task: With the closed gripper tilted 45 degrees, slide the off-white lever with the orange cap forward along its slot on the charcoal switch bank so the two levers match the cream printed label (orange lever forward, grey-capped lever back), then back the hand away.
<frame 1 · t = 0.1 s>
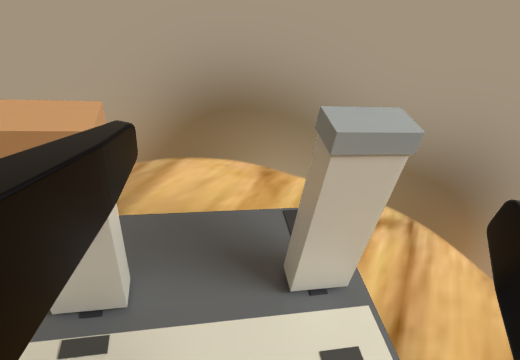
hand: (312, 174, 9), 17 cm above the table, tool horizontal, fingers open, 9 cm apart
lever b: (338, 212, 20), point 8 cm above the table, slide at 0.0 cm
switch bank: (194, 289, 24), on the table
lever a: (71, 225, 17), point 8 cm above the table, slide at 0.0 cm
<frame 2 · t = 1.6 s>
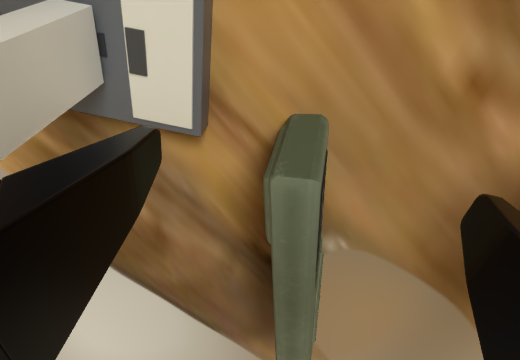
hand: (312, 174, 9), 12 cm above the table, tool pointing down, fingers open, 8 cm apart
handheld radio: (301, 251, 29), on the table
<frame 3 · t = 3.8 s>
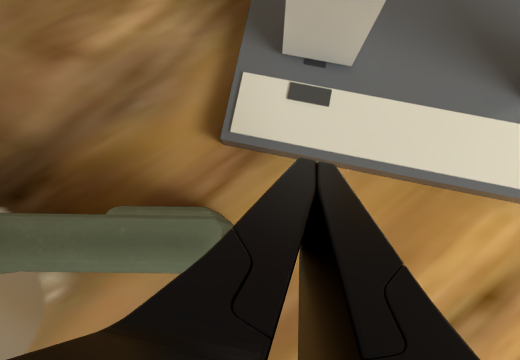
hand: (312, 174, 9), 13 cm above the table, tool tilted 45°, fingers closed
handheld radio: (35, 235, 22), on the table
switch bank: (414, 61, 22), on the table
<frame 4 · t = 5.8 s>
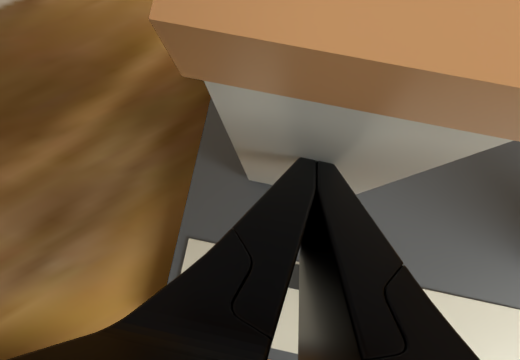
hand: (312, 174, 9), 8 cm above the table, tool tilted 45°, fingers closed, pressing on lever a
switch bank: (419, 209, 17), on the table
lever a: (319, 128, 9), point 8 cm above the table, slide at 1.5 cm, touching gripper
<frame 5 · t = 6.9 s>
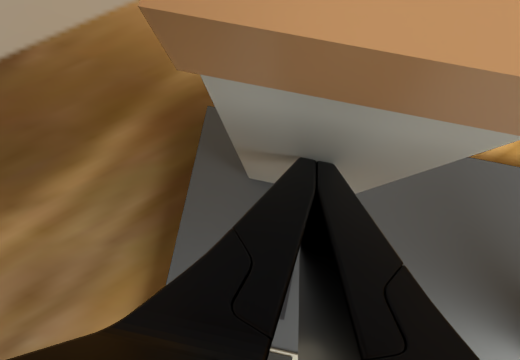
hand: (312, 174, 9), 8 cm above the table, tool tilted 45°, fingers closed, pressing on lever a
switch bank: (409, 287, 16), on the table
lever a: (321, 125, 9), point 8 cm above the table, slide at 5.2 cm, touching gripper
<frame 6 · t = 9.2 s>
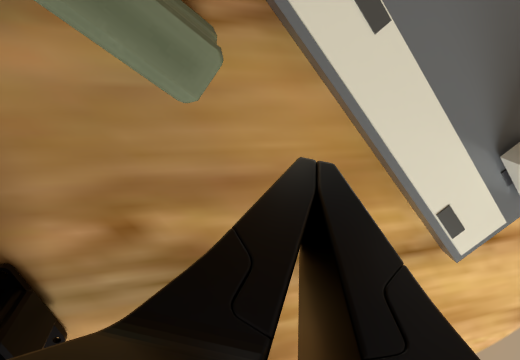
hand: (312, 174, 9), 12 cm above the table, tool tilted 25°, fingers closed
switch bank: (465, 50, 20), on the table
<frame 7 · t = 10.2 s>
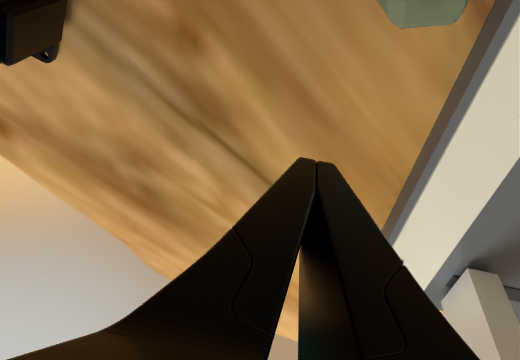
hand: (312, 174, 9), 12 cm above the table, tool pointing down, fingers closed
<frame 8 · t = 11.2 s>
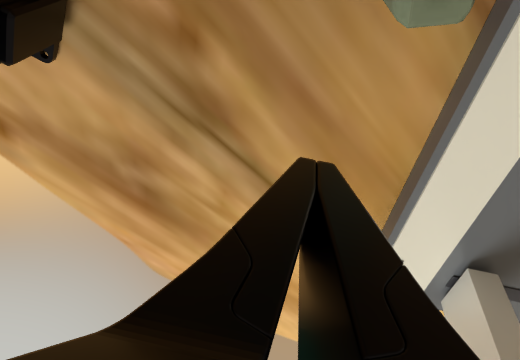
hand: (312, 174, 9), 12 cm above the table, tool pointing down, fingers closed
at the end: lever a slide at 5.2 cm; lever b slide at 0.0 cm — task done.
